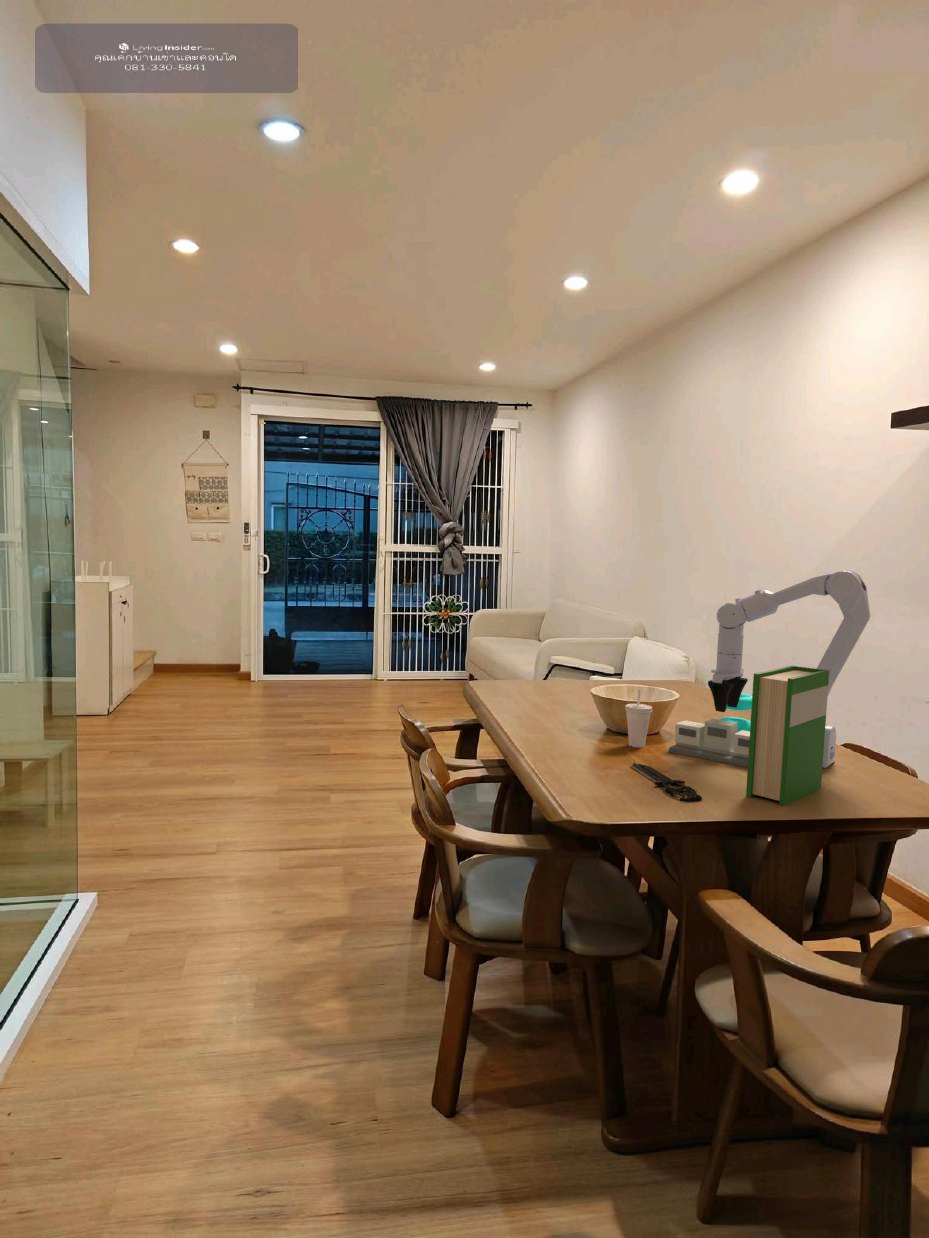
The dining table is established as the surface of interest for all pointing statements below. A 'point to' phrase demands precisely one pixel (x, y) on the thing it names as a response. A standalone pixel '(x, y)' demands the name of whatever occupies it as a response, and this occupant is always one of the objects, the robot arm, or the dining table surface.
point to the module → (719, 734)
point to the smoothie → (638, 722)
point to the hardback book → (787, 733)
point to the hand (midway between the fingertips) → (726, 709)
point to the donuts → (743, 705)
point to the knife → (666, 780)
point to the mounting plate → (692, 742)
